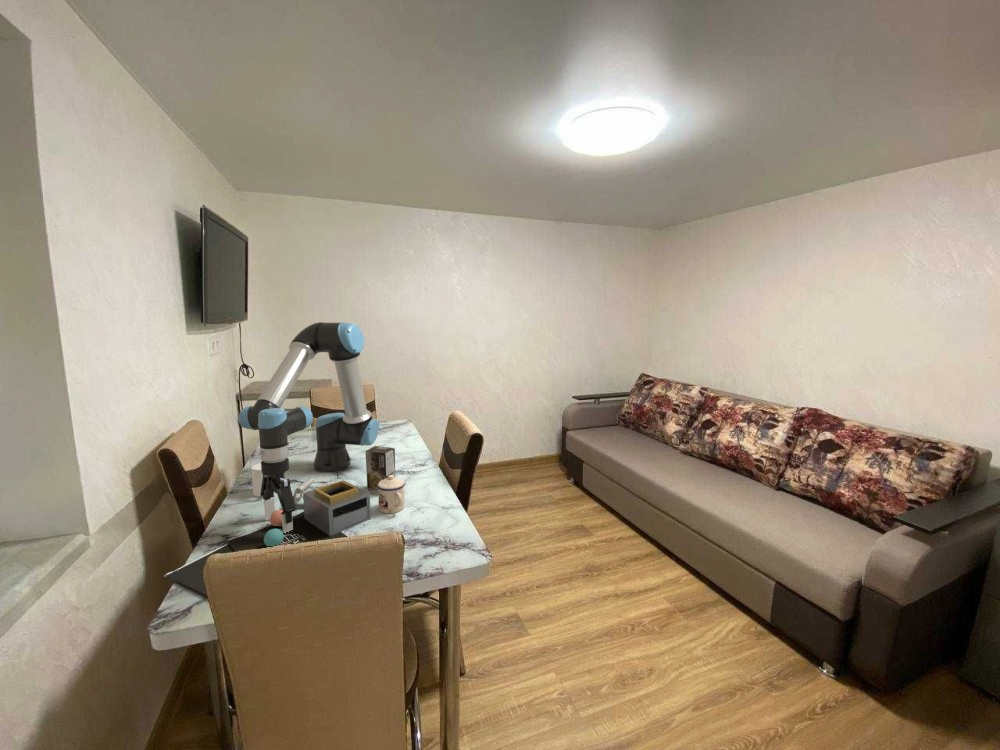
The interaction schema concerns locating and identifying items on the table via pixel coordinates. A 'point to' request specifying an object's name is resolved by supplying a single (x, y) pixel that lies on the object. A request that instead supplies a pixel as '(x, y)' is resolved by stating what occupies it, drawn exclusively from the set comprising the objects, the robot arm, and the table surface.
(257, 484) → the mug
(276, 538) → the ball teal
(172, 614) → the table surface
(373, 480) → the coffee box
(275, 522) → the ball terracotta
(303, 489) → the portable electronic device stand
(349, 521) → the grey slotted box
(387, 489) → the teacup with lid
